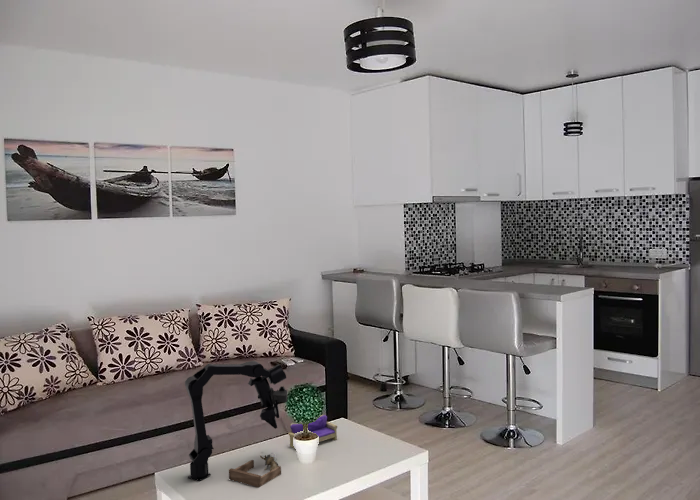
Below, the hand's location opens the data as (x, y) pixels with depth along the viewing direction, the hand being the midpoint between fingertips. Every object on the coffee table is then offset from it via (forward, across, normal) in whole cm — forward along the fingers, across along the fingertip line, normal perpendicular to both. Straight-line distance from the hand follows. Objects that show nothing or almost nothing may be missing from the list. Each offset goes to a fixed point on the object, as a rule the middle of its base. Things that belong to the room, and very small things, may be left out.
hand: (277, 422), depth 256 cm
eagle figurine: (+13, -12, +7) cm, 19 cm away
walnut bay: (+10, -19, +11) cm, 24 cm away
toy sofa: (+22, +15, -8) cm, 27 cm away
